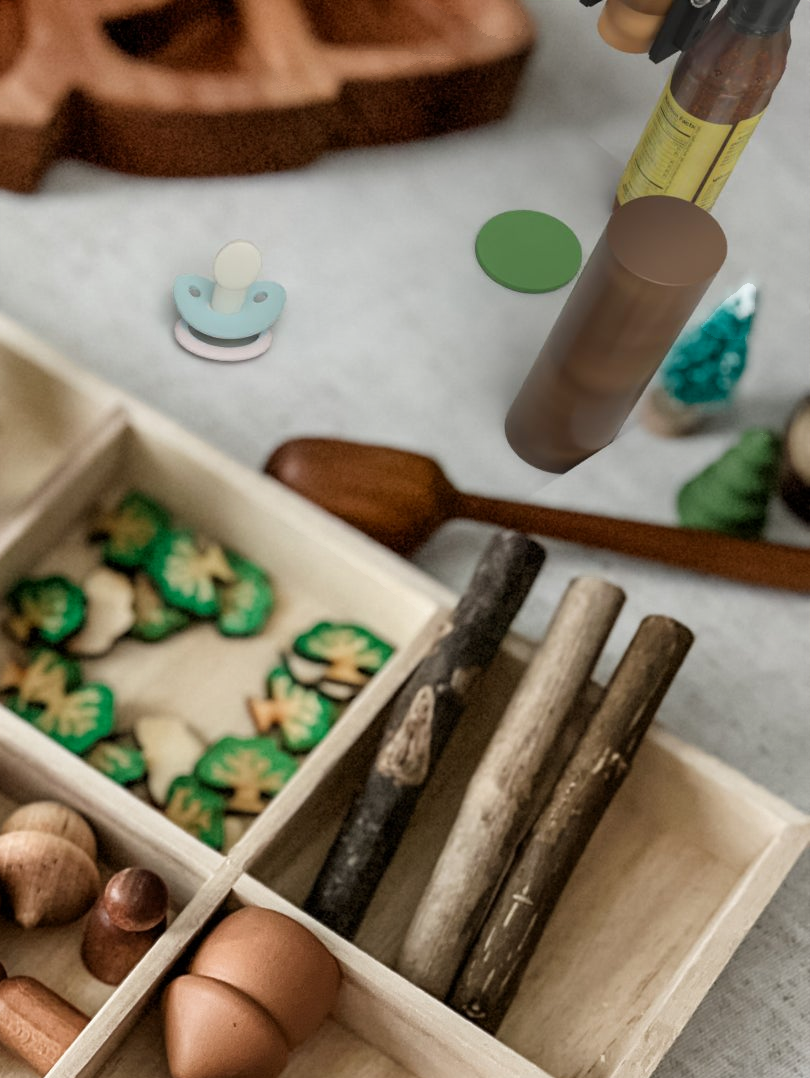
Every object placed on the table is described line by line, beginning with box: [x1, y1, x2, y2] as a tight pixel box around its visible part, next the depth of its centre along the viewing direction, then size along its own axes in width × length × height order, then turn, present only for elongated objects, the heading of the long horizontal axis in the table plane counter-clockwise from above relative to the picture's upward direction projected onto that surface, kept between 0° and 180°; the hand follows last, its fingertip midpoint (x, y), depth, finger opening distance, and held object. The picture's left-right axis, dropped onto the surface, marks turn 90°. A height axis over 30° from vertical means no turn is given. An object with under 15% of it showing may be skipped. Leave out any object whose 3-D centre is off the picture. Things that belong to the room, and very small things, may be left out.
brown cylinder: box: [504, 195, 728, 474], centre depth 101 cm, size 7×7×16 cm
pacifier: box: [172, 238, 287, 362], centre depth 109 cm, size 7×6×6 cm
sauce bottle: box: [612, 0, 801, 214], centre depth 106 cm, size 7×6×20 cm
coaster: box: [474, 209, 583, 294], centre depth 114 cm, size 7×7×1 cm
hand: (635, 20), depth 98 cm, fingers closed on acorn, 4 cm apart
